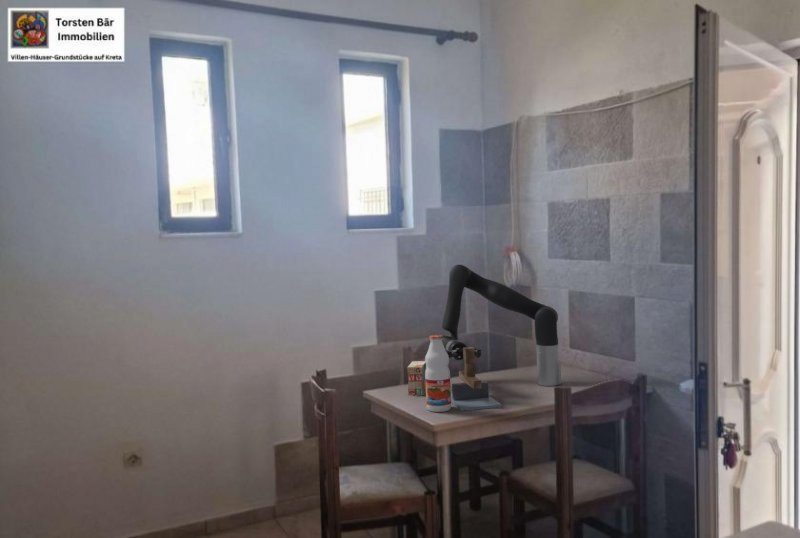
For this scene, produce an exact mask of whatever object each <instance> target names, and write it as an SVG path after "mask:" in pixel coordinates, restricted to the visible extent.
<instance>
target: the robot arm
mask: <svg viewBox="0 0 800 538" xmlns="http://www.w3.org/2000/svg"><path fill="white" fill-rule="evenodd" d="M448 278H449V279H448V280H449V281H448V293H447V301H446V305H445V311H444V314H443V319H442V323H441V324H442V325H441V329H443V330H444V331H447V332H449V333H450V335H448V336H447V335H444V334H441V335H442V336H443V340H442V343H443V345H444V348H445V350H446V352H447V354H448V356H449V359H451V358H452V359H454V360H456V361H462V360H463V348H464V347H468V345H466V344H465V343H464V342H462V341H460V340H459V338H458V328H459V323H460V317H461V309H462V296H463V292H464V289H465V288H466V289H468V290H470V291H473V292H475V293H477V294H479V295H480V296H482V297H483V298H485V299H486V300H488V301H489V302H491V303H493V304H495V305H497V306H499V307H500V308H503V309H505V310H508V311H511V312H514V313H517V314H520V315H521V314H522V315H524V316H526V317H528V318H530V319H532V320H533V321H534V337H535V345H536V346H535V349H536V375H537V376H536V377H537V378H536V380H537V381H536V382H537V385H538V386H542V387H543V386H545V387H553V386H554V387H555V386H558V385H562V369H561V368H562V364H561V361H559V355H560V354H559V338H558V327H557V326H558V324H557V323H558V321H559V315H558V313H557V311H556V309H554V308H553V307H551V306H549V305H545V304H542V303H539V302H537V301H534V300H533V299H530V298H529V297H527V296H525V295H524V294H522V293H520V292H518V291H516V290H515V289H514V288H513V289H512V288H510V287H509V286H507V285H505V284H502V283H500V282H497V281H495V280H492V279H488V278H486V277H483V276H481V275H479V274H478V273H476V272H474V271H473V270H471V269H470V268H468V267H467V266H466V265H463V264H456V265H453V266H452V267H451V269H450V271H449V276H448ZM473 348H474V357H475V359H479V358H480V357H481V356H482V349H480V348H478V347H473Z"/></svg>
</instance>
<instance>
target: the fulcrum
mask: <svg viewBox="0 0 800 538" xmlns="http://www.w3.org/2000/svg"><path fill="white" fill-rule="evenodd" d="M451 405H453V406H454V407H456V408H457V409H458V410H459V411H460V412H463V411H464V410H465V411H474V410H483V409H485V410H486V409H495V408H502V403H501V402H498V400H496V399H494V398H493V397H491V396H490V394H489V382H488V380H487V381H486V380H481V388H480V389H473V388H472V387H470V386H469V385H468V384H466V383H465V382H459V383H457V382H456V383H451Z"/></svg>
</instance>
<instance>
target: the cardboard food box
mask: <svg viewBox="0 0 800 538" xmlns="http://www.w3.org/2000/svg"><path fill="white" fill-rule="evenodd" d="M426 368H427V367H426V363H425V360H420V361H419V360H417V361H416V360H412V361H411V362H410V364H408V366H407V369H406V370H407V382H408V383H407V384H408V385H407V386H408V388H407V389H408V390H407V392H408V393H407V394H408V395H407V396H409V395H421V396H422V395H423V396H424V395H425V394H426V382H425V371H426ZM424 393H425V394H424Z"/></svg>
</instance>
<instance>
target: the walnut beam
mask: <svg viewBox="0 0 800 538" xmlns="http://www.w3.org/2000/svg"><path fill="white" fill-rule="evenodd" d="M474 348H475V347H472V346H469V347H468V346H467V347H464V348H463V359H462V360H463V370H459V371H458V379H460V380H461V381H462V382H463V383H466V384H468V385H469V386H470V387H472V388H473V389H480V388H481V381H482V380H481V379H480V378H478V377H477V376H476V365H475V364H476V362H475V361H476V360H475V359H476V357H474Z"/></svg>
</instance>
